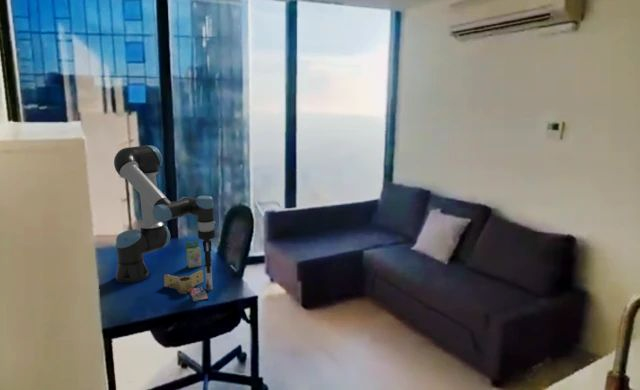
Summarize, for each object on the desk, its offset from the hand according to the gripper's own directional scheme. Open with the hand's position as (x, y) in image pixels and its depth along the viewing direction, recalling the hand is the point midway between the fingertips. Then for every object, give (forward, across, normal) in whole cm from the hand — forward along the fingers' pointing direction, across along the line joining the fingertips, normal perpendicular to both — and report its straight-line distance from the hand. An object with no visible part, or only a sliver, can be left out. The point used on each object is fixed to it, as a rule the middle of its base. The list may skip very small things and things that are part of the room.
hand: (208, 277), depth 213 cm
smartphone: (+7, -5, +5) cm, 10 cm away
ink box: (+6, +31, +7) cm, 33 cm away
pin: (+6, 0, 0) cm, 6 cm away
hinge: (+6, +6, +10) cm, 13 cm away
